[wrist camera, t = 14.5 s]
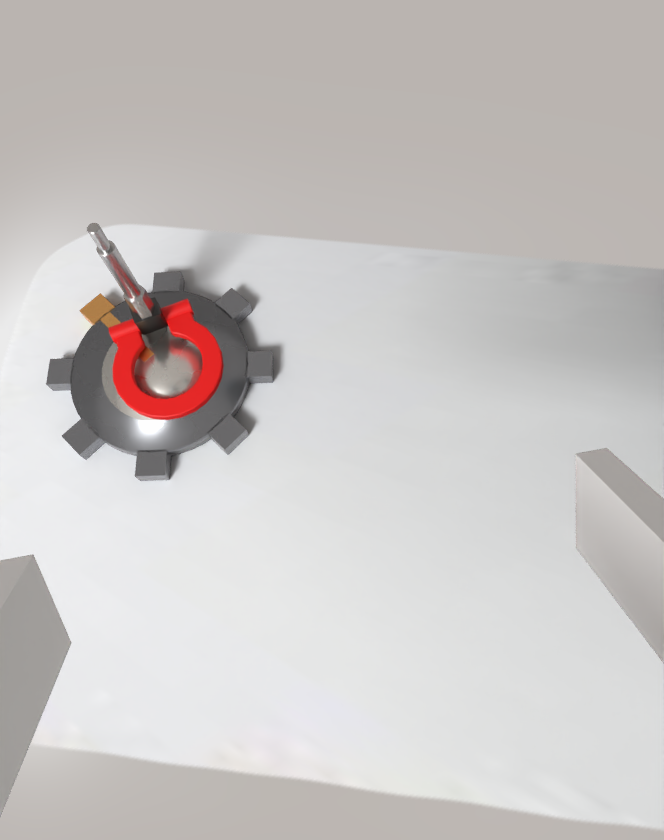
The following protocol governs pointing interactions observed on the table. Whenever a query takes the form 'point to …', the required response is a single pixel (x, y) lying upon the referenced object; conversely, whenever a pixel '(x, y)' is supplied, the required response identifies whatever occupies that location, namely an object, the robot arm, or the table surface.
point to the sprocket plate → (159, 381)
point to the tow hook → (147, 321)
